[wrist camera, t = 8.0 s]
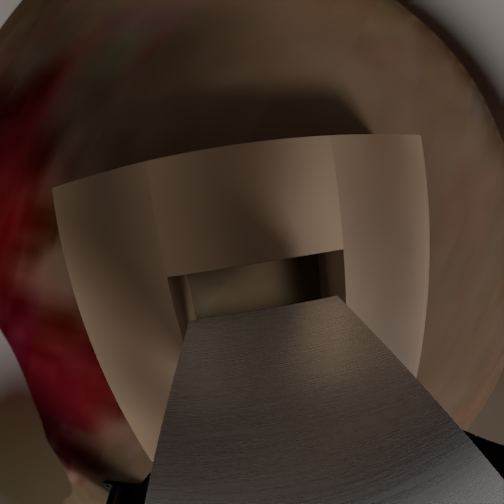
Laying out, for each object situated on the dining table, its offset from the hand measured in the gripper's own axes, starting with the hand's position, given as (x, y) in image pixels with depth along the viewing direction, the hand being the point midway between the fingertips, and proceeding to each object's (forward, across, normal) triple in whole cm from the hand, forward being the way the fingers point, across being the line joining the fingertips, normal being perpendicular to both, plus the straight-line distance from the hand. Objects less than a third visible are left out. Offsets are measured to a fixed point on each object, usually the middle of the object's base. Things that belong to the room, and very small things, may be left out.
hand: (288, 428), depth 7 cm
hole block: (+9, 0, 0) cm, 9 cm away
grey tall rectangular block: (+3, 0, 0) cm, 3 cm away
